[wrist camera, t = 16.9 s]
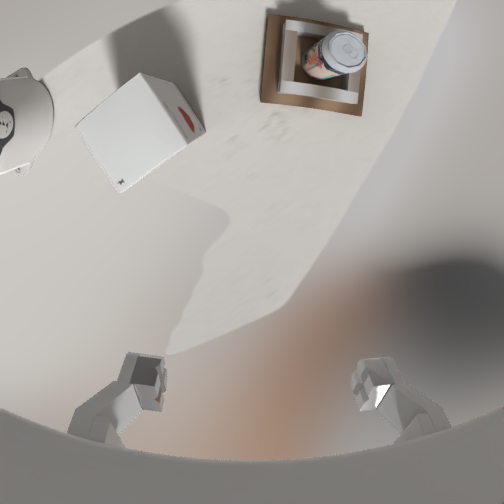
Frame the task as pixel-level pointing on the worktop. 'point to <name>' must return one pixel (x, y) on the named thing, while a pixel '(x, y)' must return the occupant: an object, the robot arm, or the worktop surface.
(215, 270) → the worktop surface
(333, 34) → the beer can
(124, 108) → the supplement box
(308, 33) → the socket base
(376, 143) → the worktop surface
